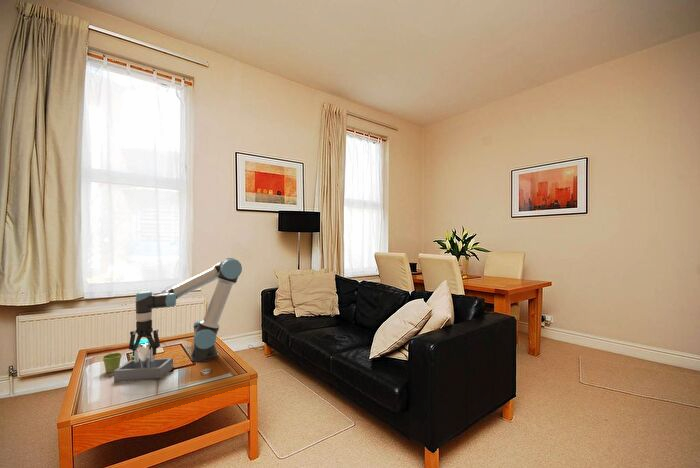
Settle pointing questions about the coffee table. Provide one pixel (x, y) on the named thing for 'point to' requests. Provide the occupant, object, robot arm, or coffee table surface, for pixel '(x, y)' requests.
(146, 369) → the open box
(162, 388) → the coffee table surface
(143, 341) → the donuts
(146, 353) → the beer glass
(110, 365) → the plant pot
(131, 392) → the coffee table surface
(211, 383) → the coffee table surface
